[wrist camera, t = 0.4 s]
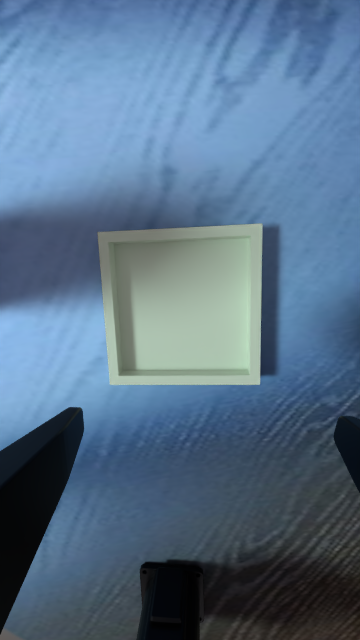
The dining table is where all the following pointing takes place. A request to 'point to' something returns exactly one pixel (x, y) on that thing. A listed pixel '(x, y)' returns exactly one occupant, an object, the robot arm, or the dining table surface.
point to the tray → (183, 305)
